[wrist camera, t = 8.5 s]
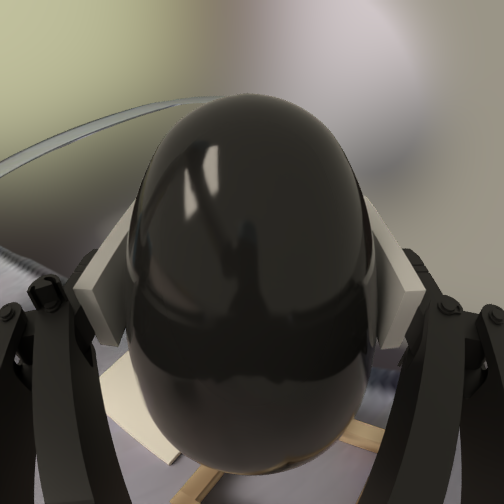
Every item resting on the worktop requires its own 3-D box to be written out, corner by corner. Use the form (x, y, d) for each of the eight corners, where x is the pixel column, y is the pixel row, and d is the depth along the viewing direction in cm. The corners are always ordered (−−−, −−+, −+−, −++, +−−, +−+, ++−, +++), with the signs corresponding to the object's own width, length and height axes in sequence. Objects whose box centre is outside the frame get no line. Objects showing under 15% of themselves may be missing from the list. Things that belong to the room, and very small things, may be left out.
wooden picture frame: (176, 505, 19) (169, 501, 17) (263, 393, 29) (264, 381, 28) (329, 577, 12) (336, 580, 11) (396, 445, 23) (405, 436, 21)
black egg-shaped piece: (334, 337, 19) (378, 92, 11) (349, 488, 11) (571, 192, 2) (184, 331, 20) (143, 92, 12) (146, 474, 12) (-60, 186, 3)
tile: (85, 394, 28) (83, 391, 27) (158, 327, 37) (157, 324, 36) (169, 465, 22) (168, 464, 22) (244, 375, 31) (244, 372, 31)
